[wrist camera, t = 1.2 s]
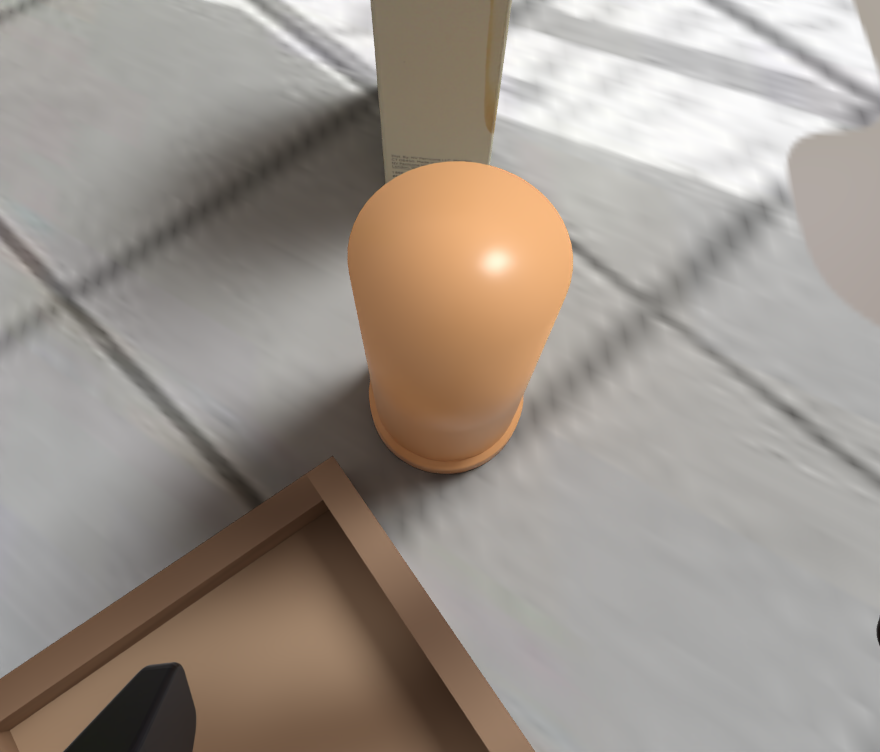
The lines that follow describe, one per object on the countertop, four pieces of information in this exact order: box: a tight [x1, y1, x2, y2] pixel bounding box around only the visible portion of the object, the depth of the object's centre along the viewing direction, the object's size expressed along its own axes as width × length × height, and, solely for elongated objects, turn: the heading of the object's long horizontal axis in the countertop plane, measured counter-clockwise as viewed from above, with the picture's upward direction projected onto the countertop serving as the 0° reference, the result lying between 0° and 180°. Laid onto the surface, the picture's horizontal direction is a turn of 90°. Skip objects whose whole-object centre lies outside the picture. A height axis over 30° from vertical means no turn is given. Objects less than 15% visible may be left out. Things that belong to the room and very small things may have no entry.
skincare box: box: [371, 0, 512, 184], centre depth 23 cm, size 6×4×12 cm
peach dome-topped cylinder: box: [348, 161, 573, 474], centre depth 19 cm, size 5×5×10 cm
